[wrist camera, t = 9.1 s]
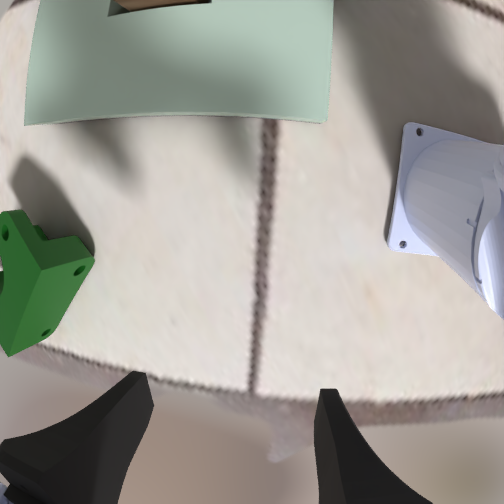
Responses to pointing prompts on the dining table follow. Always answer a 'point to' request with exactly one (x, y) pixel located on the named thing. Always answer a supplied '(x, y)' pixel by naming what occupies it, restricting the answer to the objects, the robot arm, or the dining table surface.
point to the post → (155, 3)
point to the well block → (180, 60)
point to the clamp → (36, 280)
